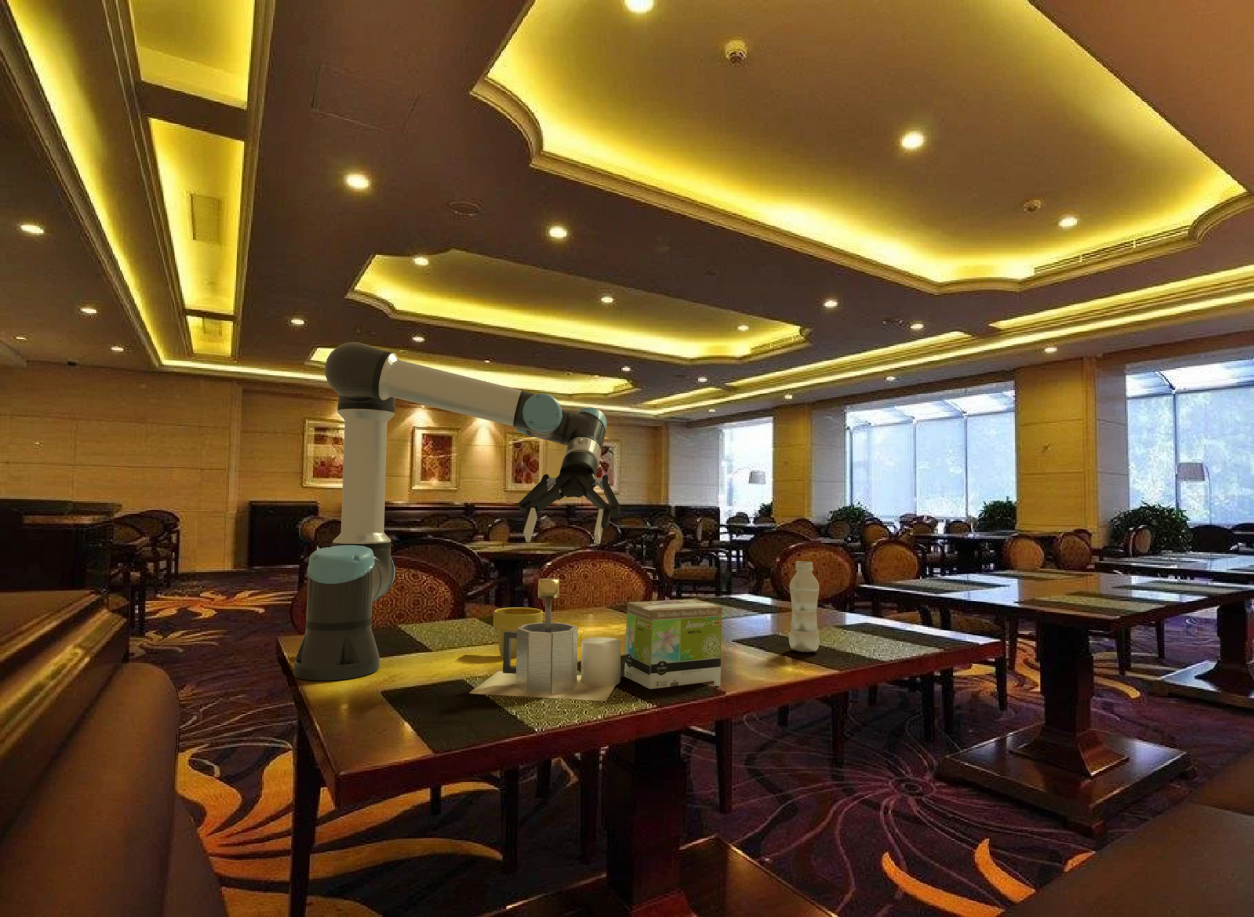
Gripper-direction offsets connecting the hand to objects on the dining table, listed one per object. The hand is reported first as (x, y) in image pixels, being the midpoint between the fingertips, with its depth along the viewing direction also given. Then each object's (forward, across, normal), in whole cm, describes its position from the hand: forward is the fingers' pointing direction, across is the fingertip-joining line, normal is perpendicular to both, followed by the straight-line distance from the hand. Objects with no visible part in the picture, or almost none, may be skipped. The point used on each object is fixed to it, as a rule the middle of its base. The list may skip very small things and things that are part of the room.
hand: (561, 538), depth 129 cm
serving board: (+24, 0, +12) cm, 27 cm away
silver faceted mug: (+24, -1, +11) cm, 27 cm away
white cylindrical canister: (+21, +9, +14) cm, 27 cm away
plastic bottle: (-6, +48, +43) cm, 64 cm away
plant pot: (+8, -13, +29) cm, 33 cm away
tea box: (+18, +21, +19) cm, 34 cm away
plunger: (+22, 0, +8) cm, 24 cm away
